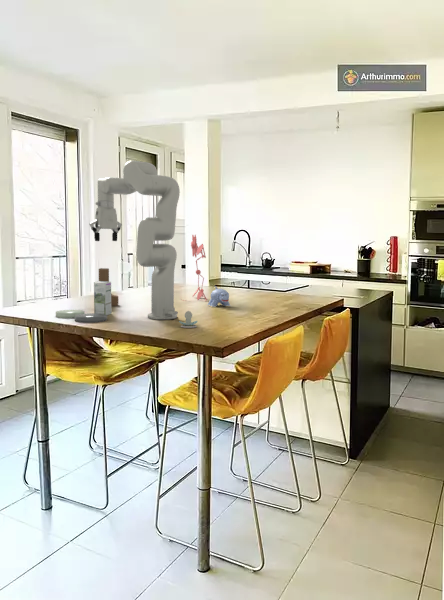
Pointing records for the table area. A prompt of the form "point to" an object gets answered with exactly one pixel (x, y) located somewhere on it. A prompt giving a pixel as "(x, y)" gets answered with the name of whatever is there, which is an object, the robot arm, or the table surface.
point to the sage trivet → (68, 313)
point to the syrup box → (102, 297)
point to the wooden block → (105, 277)
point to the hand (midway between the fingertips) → (106, 241)
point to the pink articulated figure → (194, 250)
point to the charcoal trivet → (90, 318)
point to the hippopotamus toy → (219, 297)
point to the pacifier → (188, 321)
